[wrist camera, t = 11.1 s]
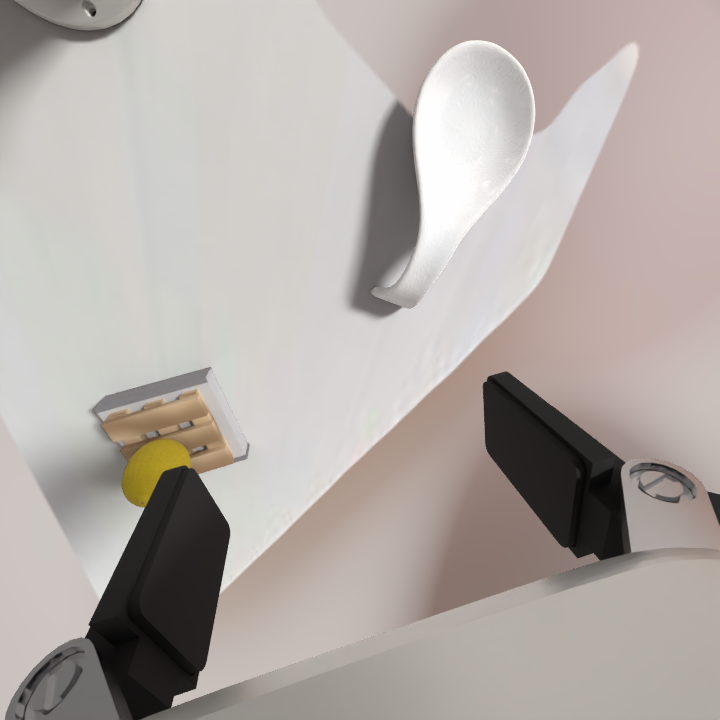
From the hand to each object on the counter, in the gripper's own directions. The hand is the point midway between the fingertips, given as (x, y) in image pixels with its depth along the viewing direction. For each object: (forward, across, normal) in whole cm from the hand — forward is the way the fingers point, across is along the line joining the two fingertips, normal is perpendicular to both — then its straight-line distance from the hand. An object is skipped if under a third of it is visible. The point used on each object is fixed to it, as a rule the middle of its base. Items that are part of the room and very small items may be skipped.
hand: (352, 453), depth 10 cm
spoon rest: (+29, -15, -5) cm, 33 cm away
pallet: (+26, +20, +13) cm, 35 cm away
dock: (+28, +20, +13) cm, 37 cm away
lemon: (+24, +20, +13) cm, 34 cm away
